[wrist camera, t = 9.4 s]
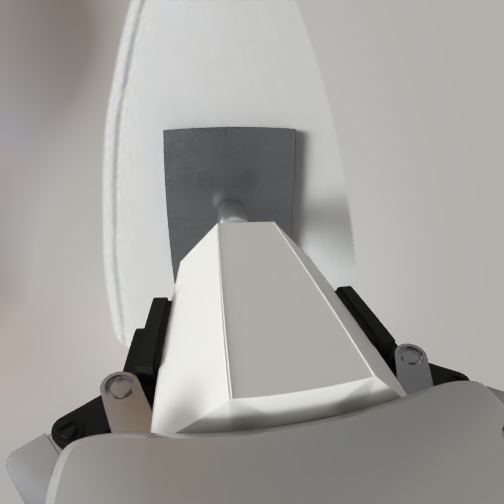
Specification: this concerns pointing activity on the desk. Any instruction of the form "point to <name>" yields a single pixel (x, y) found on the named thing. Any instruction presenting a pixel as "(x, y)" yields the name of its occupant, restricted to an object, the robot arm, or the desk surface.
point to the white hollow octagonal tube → (261, 340)
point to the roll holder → (226, 181)
